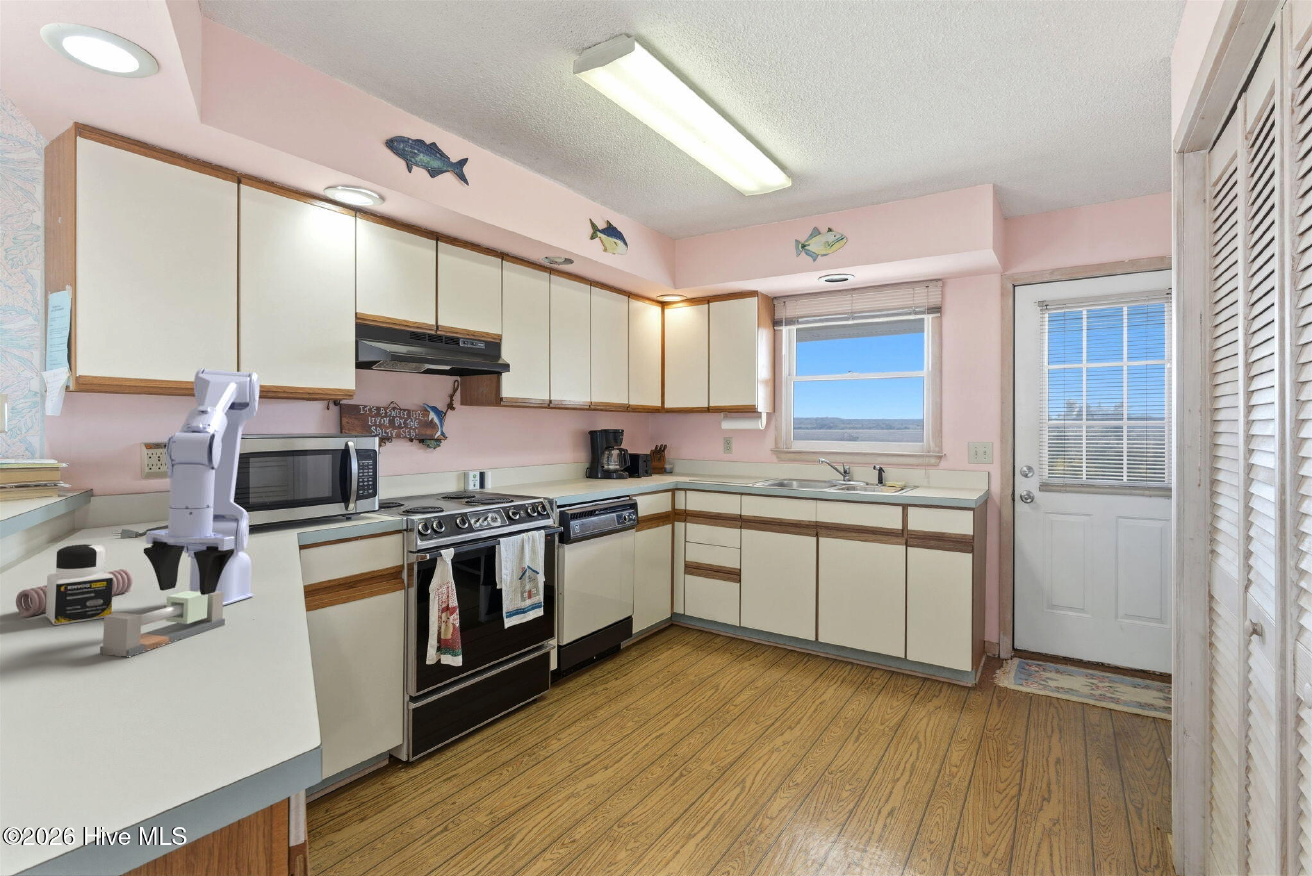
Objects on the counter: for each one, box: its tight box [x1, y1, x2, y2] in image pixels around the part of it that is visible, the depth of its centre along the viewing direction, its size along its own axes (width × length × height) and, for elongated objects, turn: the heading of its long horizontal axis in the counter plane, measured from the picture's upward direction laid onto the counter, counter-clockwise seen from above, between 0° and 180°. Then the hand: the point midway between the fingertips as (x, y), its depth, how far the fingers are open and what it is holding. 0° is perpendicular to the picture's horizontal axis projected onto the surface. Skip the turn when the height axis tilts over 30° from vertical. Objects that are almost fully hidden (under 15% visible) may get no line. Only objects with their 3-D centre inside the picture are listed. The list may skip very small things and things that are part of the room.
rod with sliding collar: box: [99, 591, 226, 658], centre depth 97 cm, size 16×5×6 cm, turn 170°
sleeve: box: [165, 590, 208, 624], centre depth 100 cm, size 4×4×4 cm
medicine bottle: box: [45, 543, 113, 626], centre depth 105 cm, size 7×7×12 cm
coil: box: [15, 568, 133, 619], centre depth 112 cm, size 5×5×18 cm
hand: (187, 591), depth 100 cm, fingers open, 7 cm apart
